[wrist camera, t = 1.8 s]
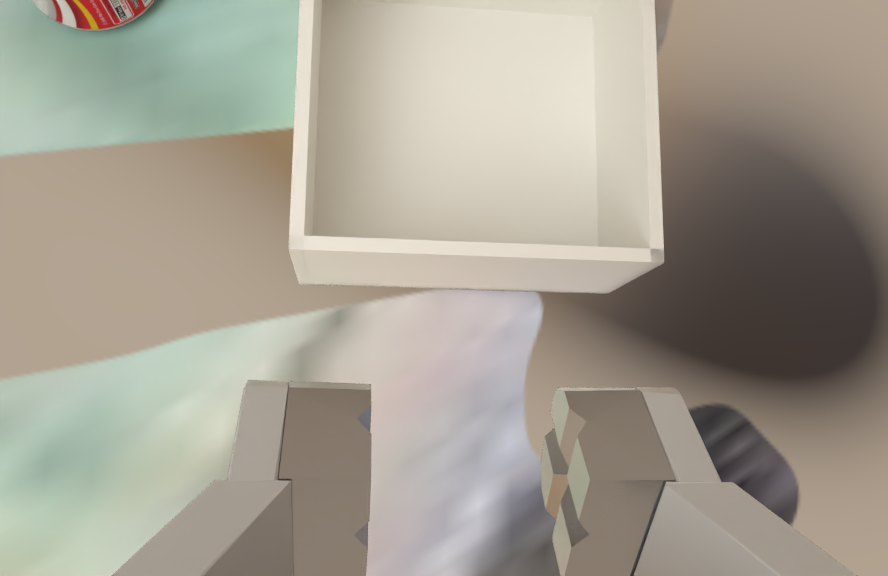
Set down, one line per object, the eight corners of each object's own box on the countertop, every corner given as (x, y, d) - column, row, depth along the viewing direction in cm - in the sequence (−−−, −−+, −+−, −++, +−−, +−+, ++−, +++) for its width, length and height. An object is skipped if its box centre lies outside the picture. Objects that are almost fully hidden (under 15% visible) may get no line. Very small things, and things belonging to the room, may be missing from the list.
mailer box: (299, 284, 42) (288, 249, 34) (311, -9, 45) (304, -102, 37) (607, 293, 44) (664, 262, 36) (600, 11, 47) (651, -74, 39)
